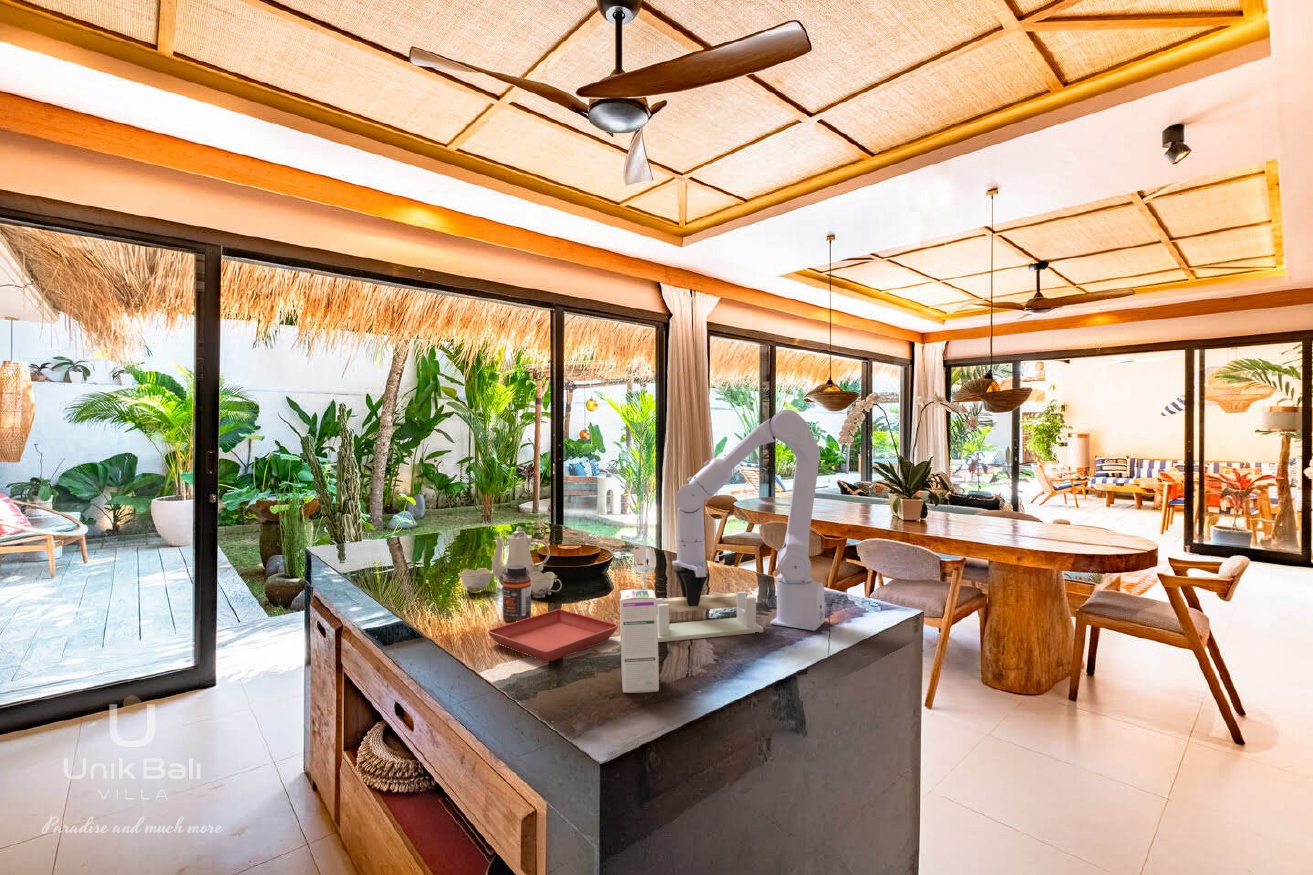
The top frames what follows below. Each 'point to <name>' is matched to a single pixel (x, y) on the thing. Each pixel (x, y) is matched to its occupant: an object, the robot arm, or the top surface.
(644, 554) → the wineglass
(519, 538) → the chinaware
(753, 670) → the top surface
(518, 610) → the supplement bottle
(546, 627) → the plant saucer
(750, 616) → the rail stand
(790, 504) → the robot arm
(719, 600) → the rail
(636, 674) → the syrup box
